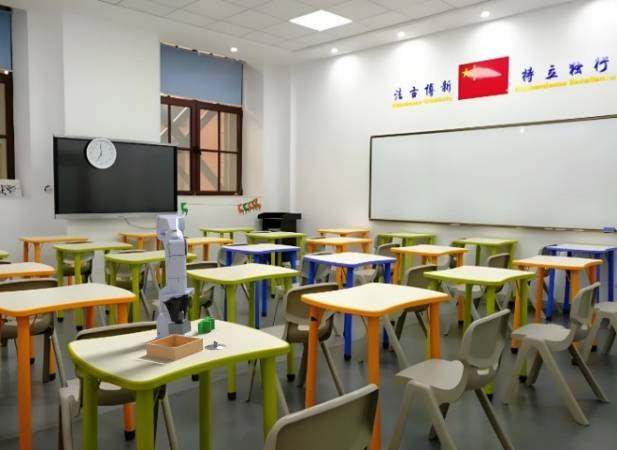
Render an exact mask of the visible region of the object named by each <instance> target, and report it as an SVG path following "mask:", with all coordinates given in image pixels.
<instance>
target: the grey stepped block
mask: <svg viewBox="0 0 617 450" xmlns="http://www.w3.org/2000/svg"><path fill="white" fill-rule="evenodd" d="M168 330H169V334H177V335H183V334H185V335H186V334H188V333H189V332H191V331H192V322H191V320H185V321H184V310H179V317H178V322H172V323H170V324H168Z"/></svg>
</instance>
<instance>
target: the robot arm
mask: <svg viewBox="0 0 617 450" xmlns="http://www.w3.org/2000/svg"><path fill="white" fill-rule="evenodd" d="M185 218H186V217H185V215H184V214H183V213H180V214H178V213H177V214H156V215H155V230H156V238H157V240H160V241H162V244H163V248H164V261H165V263H164V265H165V280H166V281H165V283H166V285H165V286H164V287H162V289H161V290H159V292H158V309H159V310H158V312H159V314H158V315H157V318H156V337H155V338H154V339H155V340H159V339H162V338H165V337H168V336H171V335H174V334H169V330H168V324H170V323H172V322H178V317H179V310H184V321H186V317H187V313H188V311H189V305H190V304H191V302H192V299H193V295H195V287H187V286H188V285H187V283H188V281H187V279H188V278H187V257H188V251H189V250H188V249H189V247H188V241H187V238H184V235H185V229H186V228H185V227H186V220H185ZM175 335H177V334H175ZM182 336H189V337H191V335H189V334H186V333H185V334H183V335H182Z"/></svg>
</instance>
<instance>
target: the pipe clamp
mask: <svg viewBox="0 0 617 450" xmlns="http://www.w3.org/2000/svg"><path fill="white" fill-rule="evenodd" d="M215 321H216V318H211V316H206V317H205V318H204V319H201V321H200V322H198V323H197V335H202V334H204V333H212V330H215V329H216V322H215Z"/></svg>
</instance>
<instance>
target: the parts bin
mask: <svg viewBox="0 0 617 450" xmlns="http://www.w3.org/2000/svg"><path fill="white" fill-rule="evenodd" d="M145 344H146V345H145V346H146V349H145V350H146V356H149V357H156V358H160V359H167V360H172V361H179V360H180V359H182V358H186V357H188V356H191V355H194V354H196V353H198V352H201V351H203V350H204V338H200V337H195V336H190V337H189V336H182V335H175V334H174V335H171V336H168V337H165V338H162V339H159V340H158V339H155V340H152V341H150V342H147V343H145Z"/></svg>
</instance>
